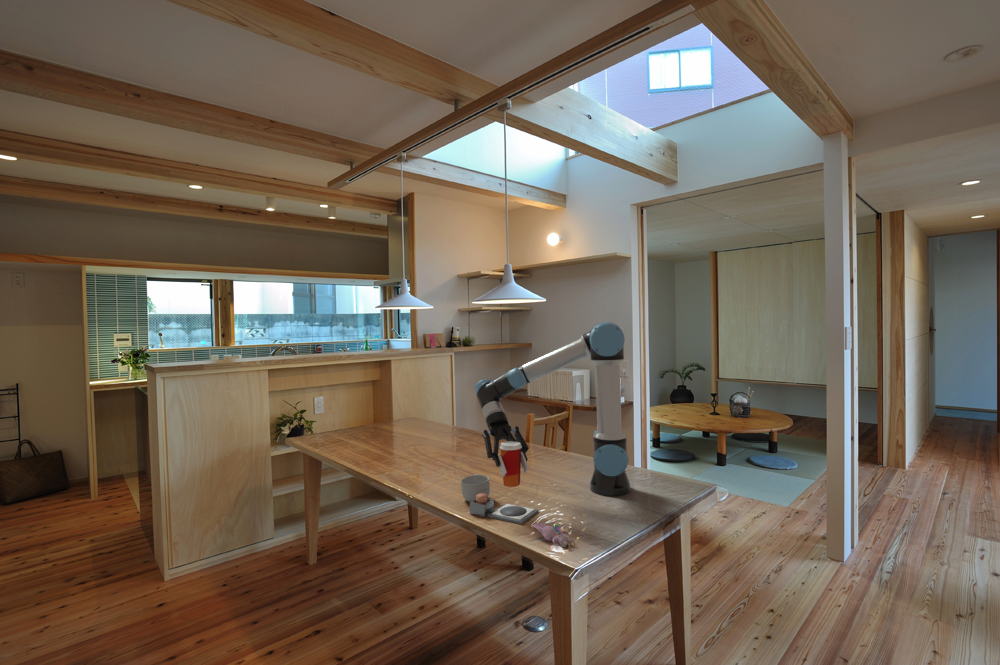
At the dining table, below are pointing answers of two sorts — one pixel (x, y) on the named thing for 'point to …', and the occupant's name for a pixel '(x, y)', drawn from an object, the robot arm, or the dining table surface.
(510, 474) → the paper cup
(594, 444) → the robot arm
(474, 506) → the button housing
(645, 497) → the dining table surface
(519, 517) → the board
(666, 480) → the dining table surface
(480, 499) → the button
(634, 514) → the dining table surface
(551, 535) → the pink unicorn toy
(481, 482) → the teacup
